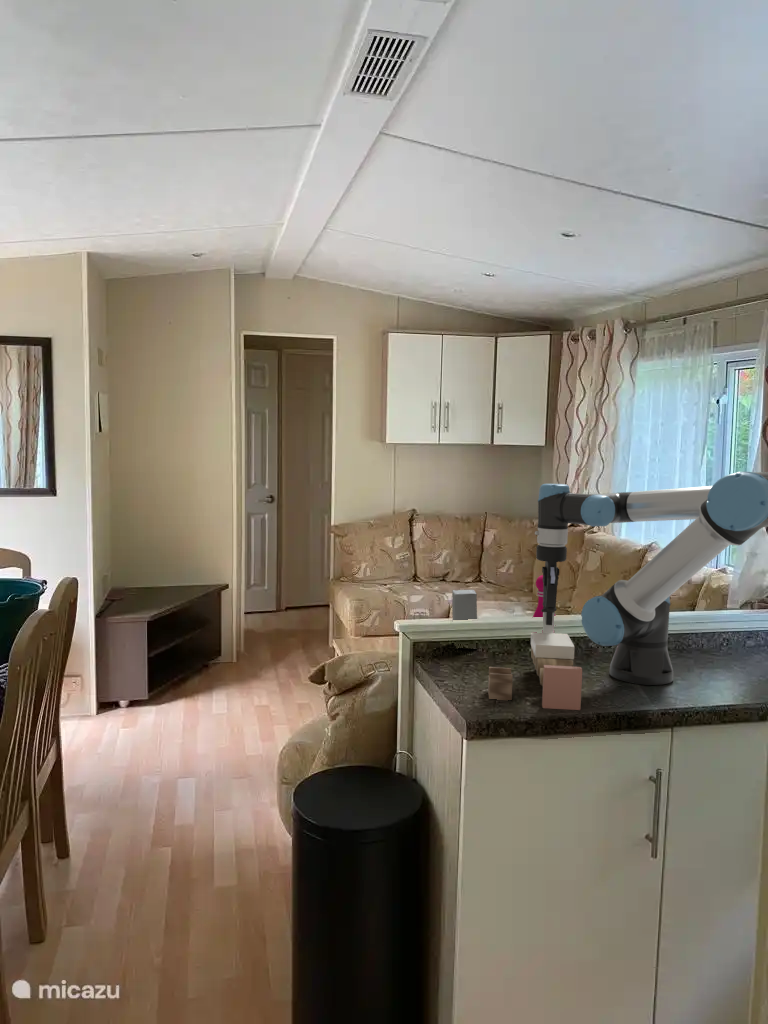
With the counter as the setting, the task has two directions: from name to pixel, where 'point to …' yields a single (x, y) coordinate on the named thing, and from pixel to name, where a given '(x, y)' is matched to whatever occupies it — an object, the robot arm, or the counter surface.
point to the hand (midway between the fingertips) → (547, 636)
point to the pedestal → (500, 683)
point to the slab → (552, 645)
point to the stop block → (562, 687)
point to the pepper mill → (539, 597)
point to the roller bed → (549, 662)
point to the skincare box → (464, 604)
